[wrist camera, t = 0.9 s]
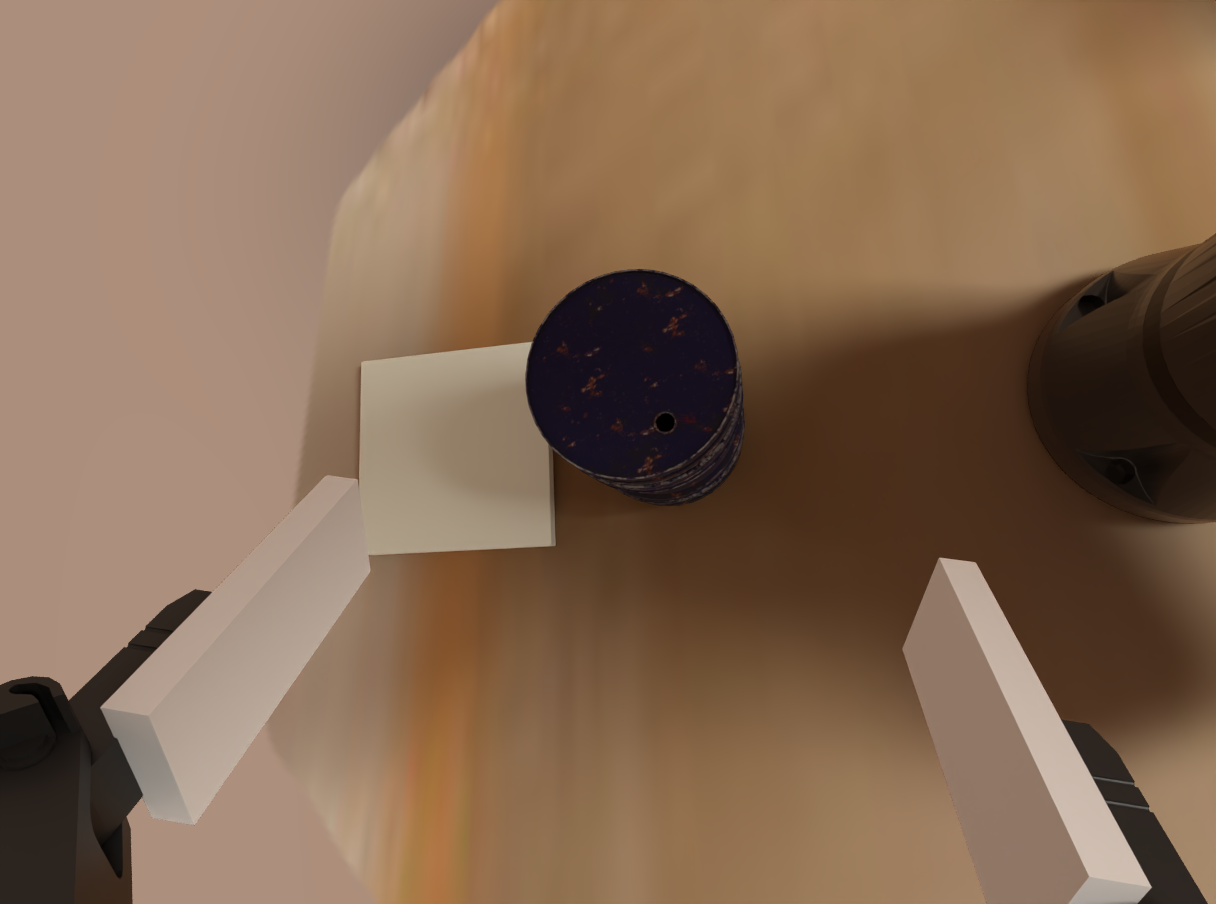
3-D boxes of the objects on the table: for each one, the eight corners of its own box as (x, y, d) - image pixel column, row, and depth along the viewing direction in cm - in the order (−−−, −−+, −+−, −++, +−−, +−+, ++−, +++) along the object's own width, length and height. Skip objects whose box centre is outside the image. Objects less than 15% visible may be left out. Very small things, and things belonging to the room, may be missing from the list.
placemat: (549, 344, 47) (545, 340, 46) (555, 546, 44) (551, 545, 43) (369, 365, 49) (361, 361, 48) (365, 555, 47) (357, 555, 46)
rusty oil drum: (568, 417, 46) (483, 352, 31) (686, 331, 45) (655, 223, 30) (651, 538, 43) (600, 528, 29) (776, 450, 42) (789, 393, 28)
